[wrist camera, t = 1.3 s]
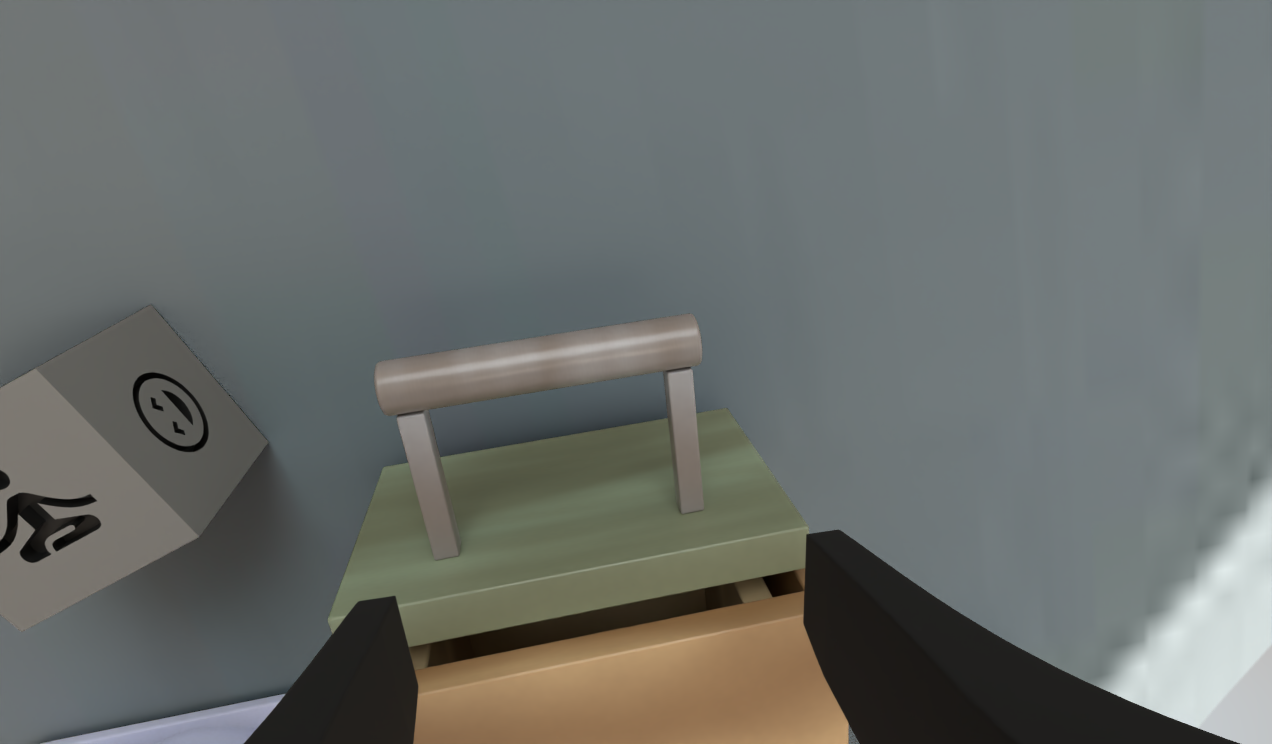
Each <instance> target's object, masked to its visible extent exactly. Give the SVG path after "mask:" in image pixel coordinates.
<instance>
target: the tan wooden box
mask: <svg viewBox="0 0 1272 744" xmlns="http://www.w3.org/2000/svg"><path fill="white" fill-rule="evenodd" d="M762 578H763V580H764V582H765V584H766V586H767V587H768V589H769V591H770V593H771V595H772V598H767V599H762V600H757V601H752V602H747V603H742V604H738V605H733V606H728V607H723V608H718V609H713V610H708V611H703V612H698V613H693V614H688V615H683V616H678V617H674V618H669V619H664V620H659V621H654V622H649V623H644V624H639V625H634V626H629V627H624V628H619V629H615V630H610V631H605V632H600V633H595V634H590V635H585V636H580V637H575V638H570V639H565V640H560V641H555V642H551V643H546V644H541V645H536V646H531V647H526V648H521V649H516V650H511V651H506V652H501V653H496V654H492V655H487V656H482V657H477V658H472V659H467V660H462V661H457V662H452V663H447V664H442V665H437V666H432V667H428V668H423V669H418V670H415V674H416V678H417V682H418V686H419V687H418V699H417V711H416V722H415V732H414V742H413V744H848V721H847V719H846V717H845V715H844V714H843V712H842V710H841V708H840V706H839V704H838V702H837V700H836V699H835V697H834V695H833V693H832V691H831V689H830V687H829V685H828V683H827V681H826V680H825V678H824V676H823V673H822V671H821V668H820V666H819V663H818V661H817V658H816V656H815V653H814V651H813V648H812V645H811V643H810V640H809V637H808V635H807V632H806V630H805V627H804V624H803V615H804V587H805V568H804V569H799V570H794V571H789V572H784V573H779V574H774V575H769V576H764V577H762Z"/></svg>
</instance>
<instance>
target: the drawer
mask: <svg viewBox="0 0 1272 744" xmlns="http://www.w3.org/2000/svg"><path fill="white" fill-rule="evenodd" d="M701 360H702V341H701V335H700V330H699V326H698V323H697V321H696V319H695V317H694V315H693V314H690V313H688V314H681V315H675V316H669V317H662V318H656V319H649V320H643V321H636V322H630V323H623V324H617V325H611V326H604V327H598V328H591V329H585V330H578V331H572V332H566V333H559V334H553V335H546V336H540V337H533V338H527V339H521V340H514V341H508V342H501V343H495V344H488V345H482V346H475V347H469V348H463V349H456V350H450V351H443V352H437V353H430V354H424V355H418V356H411V357H405V358H398V359H392V360H385V361H380V362H378V363H377V364H376V366H375V372H374V384H375V391H376V396H377V399H378V403H379V405H380V407H381V409H382V411H383V413H384V414H385V415H388V416H393V415H398V416H397V423H398V427H399V430H400V434H401V438H402V442H403V445H404V449H405V453H406V456H407V460H408V463H403V464H398V465H392V466H386V467H383V469H382V472H381V475H380V477H379V480H378V483H377V486H376V488H375V491H374V494H373V497H372V499H371V502H370V505H369V508H368V510H367V513H366V516H365V519H364V521H363V524H362V527H361V529H360V532H359V535H358V538H357V540H356V543H355V546H354V549H353V551H352V554H351V557H350V560H349V562H348V565H347V568H346V571H345V573H344V576H343V579H342V582H341V584H340V587H339V590H338V592H337V595H336V598H335V601H334V603H333V606H332V609H331V612H330V614H329V617H328V623H329V626H330V629H331V631H332V634H333V633H334V631H335V630H336V629H337V627H338V626H339V625H340V624H341V622H342V621H343V620H344V618H345V617H346V616H347V614H348V613H349V612H350V611H351V609H352V608H353V607H354V606H355V604H356V603H357V602H358V601H363V600H369V599H376V598H383V597H389V596H396V600H397V604H398V608H399V612H400V616H401V619H402V623H403V627H404V631H405V635H406V639H407V643H408V647H409V651H410V655H411V658H412V662H413V666H414V670H418V669H423V668H428V667H432V666H437V665H442V664H447V663H452V662H457V661H462V660H467V659H472V658H477V657H482V656H487V655H492V654H496V653H501V652H506V651H511V650H516V649H521V648H526V647H531V646H536V645H541V644H546V643H551V642H555V641H560V640H565V639H570V638H575V637H580V636H585V635H590V634H595V633H600V632H605V631H610V630H615V629H619V628H624V627H629V626H634V625H639V624H644V623H649V622H654V621H659V620H664V619H669V618H674V617H678V616H683V615H688V614H693V613H698V612H703V611H708V610H713V609H718V608H723V607H728V606H733V605H738V604H742V603H747V602H752V601H757V600H762V599H767V598H772V595H771V593H770V591H769V589H768V587H767V586H766V584H765V582H764V580H763V578H762V577H764V576H769V575H774V574H779V573H784V572H789V571H794V570H799V569H804V568H805V559H806V534H809V527H808V525H807V524H806V522H805V521H804V519H803V518H802V517H801V515H800V514H799V512H798V511H797V509H796V508H795V506H794V505H793V503H792V502H791V501H790V499H789V498H788V496H787V495H786V493H785V492H784V490H783V489H782V487H781V486H780V484H779V483H778V482H777V480H776V479H775V477H774V476H773V474H772V473H771V471H770V470H769V468H768V467H767V466H766V464H765V463H764V461H763V460H762V458H761V457H760V455H759V454H758V452H757V451H756V449H755V448H754V447H753V445H752V444H751V442H750V441H749V439H748V438H747V436H746V435H745V433H744V432H743V430H742V429H741V428H740V426H739V425H738V423H737V422H736V420H735V419H734V417H733V416H732V414H731V413H730V412H729V410H728V409H727V408H724V409H718V410H713V411H707V412H701V413H696V405H695V393H694V381H693V371H692V369H691V367H692V366H697V365H699V364H700V363H701ZM661 371H663V376H664V385H665V395H666V405H667V415H668V418H666V419H660V420H654V421H648V422H643V423H637V424H631V425H625V426H619V427H613V428H608V429H602V430H596V431H590V432H584V433H578V434H573V435H567V436H561V437H555V438H549V439H543V440H538V441H532V442H526V443H520V444H514V445H508V446H503V447H497V448H491V449H485V450H479V451H473V452H468V453H462V454H456V455H450V456H444V457H440V454H439V450H438V446H437V442H436V438H435V434H434V430H433V426H432V422H431V418H430V414H429V409H435V408H442V407H448V406H454V405H460V404H466V403H472V402H478V401H484V400H490V399H496V398H503V397H509V396H515V395H521V394H527V393H533V392H539V391H545V390H551V389H557V388H564V387H570V386H576V385H582V384H588V383H594V382H600V381H606V380H612V379H619V378H625V377H631V376H637V375H643V374H649V373H655V372H661Z"/></svg>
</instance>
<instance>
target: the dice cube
mask: <svg viewBox="0 0 1272 744" xmlns="http://www.w3.org/2000/svg"><path fill="white" fill-rule="evenodd" d="M267 443H268V441H267V440H266V439H265V437H264V436H263V435H262V434H261V433H260V432H259V430H258V429H257V428H256V427H255V426H254V425H253V423H252V422H251V421H250V420H249V419H248V418H247V416H246V415H245V414H244V413H243V412H242V410H241V409H240V408H239V407H238V406H237V405H236V403H235V402H234V401H233V400H232V399H231V398H230V396H229V395H228V394H227V393H226V392H225V391H224V389H223V388H222V387H221V386H220V385H219V384H218V382H217V381H216V380H215V379H214V378H213V376H212V375H211V374H210V373H209V372H208V371H207V369H206V368H205V367H204V366H203V365H202V364H201V362H200V361H199V360H198V359H197V358H196V357H195V355H194V354H193V353H192V352H191V351H190V350H189V348H188V347H187V346H186V345H185V344H184V342H183V341H182V340H181V339H180V338H179V337H178V335H177V334H176V333H175V332H174V331H173V330H172V328H171V327H170V326H169V325H168V324H167V323H166V321H165V320H164V319H163V318H162V317H161V316H160V314H159V313H158V312H157V311H156V310H155V308H154V307H153V306H152V305H149V306H147V307H146V308H144V309H142V310H140V311H138V312H137V313H135V314H133V315H131V316H129V317H127V318H126V319H124V320H122V321H120V322H118V323H117V324H115V325H113V326H111V327H109V328H107V329H106V330H104V331H102V332H100V333H98V334H97V335H95V336H93V337H91V338H89V339H87V340H86V341H84V342H82V343H80V344H78V345H77V346H75V347H73V348H71V349H69V350H67V351H66V352H64V353H62V354H60V355H58V356H57V357H55V358H53V359H51V360H49V361H47V362H46V363H44V364H42V365H40V366H38V367H37V368H35V369H33V370H31V371H29V372H27V373H26V374H24V375H22V376H20V377H18V378H17V379H15V380H13V381H11V382H9V383H7V384H6V385H4V386H2V387H0V615H2V616H3V617H4V618H5V619H6V620H8V621H9V622H10V623H11V624H12V625H14V626H15V627H16V628H17V629H18V630H20V631H21V632H23V631H25V630H27V629H28V628H30V627H32V626H34V625H36V624H38V623H40V622H41V621H43V620H45V619H47V618H49V617H51V616H53V615H54V614H56V613H58V612H60V611H62V610H64V609H66V608H68V607H69V606H71V605H73V604H75V603H77V602H79V601H81V600H82V599H84V598H86V597H88V596H90V595H92V594H94V593H96V592H97V591H99V590H101V589H103V588H105V587H107V586H109V585H110V584H112V583H114V582H116V581H118V580H120V579H122V578H124V577H125V576H127V575H129V574H131V573H133V572H135V571H137V570H138V569H140V568H142V567H144V566H146V565H148V564H150V563H151V562H153V561H155V560H157V559H159V558H161V557H163V556H165V555H166V554H168V553H170V552H172V551H174V550H176V549H178V548H179V547H181V546H183V545H185V544H187V543H189V542H191V541H193V540H194V539H196V538H198V537H200V535H201V534H202V533H203V531H204V530H205V528H206V527H207V526H208V524H209V523H210V522H211V520H212V519H213V517H214V516H215V515H216V513H217V512H218V511H219V509H220V508H221V507H222V505H223V504H224V502H225V501H226V500H227V498H228V497H229V496H230V494H231V493H232V491H233V490H234V489H235V487H236V486H237V485H238V483H239V482H240V480H241V479H242V478H243V476H244V475H245V474H246V472H247V471H248V469H249V468H250V467H251V465H252V464H253V463H254V461H255V460H256V459H257V457H258V456H259V454H260V453H261V452H262V450H263V449H264V448H265V446H266V445H267Z"/></svg>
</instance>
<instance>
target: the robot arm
mask: <svg viewBox="0 0 1272 744" xmlns="http://www.w3.org/2000/svg"><path fill="white" fill-rule="evenodd" d="M803 624H804V627H805V630H806V632H807V635H808V637H809V640H810V643H811V645H812V648H813V651H814V653H815V656H816V658H817V661H818V663H819V666H820V668H821V671H822V673H823V676H824V678H825V680H826V681H827V683H828V685H829V687H830V689H831V691H832V693H833V695H834V697H835V699H836V700H837V702H838V704H839V706H840V708H841V710H842V712H843V714H844V715H845V717H846V719H847V721H848V723H849V725H850V727H851V728H852V730H853V732H854V734H855V736H856V738H857V740H858V741H859V743H860V744H1240V743H1237V742H1233V741H1231V740H1228V739H1225V738H1222V737H1220V736H1217V735H1214V734H1212V733H1209V732H1206V731H1203V730H1201V729H1198V728H1196V727H1193V726H1190V725H1188V724H1185V723H1182V722H1180V721H1177V720H1174V719H1172V718H1169V717H1167V716H1164V715H1162V714H1159V713H1157V712H1154V711H1152V710H1149V709H1147V708H1144V707H1142V706H1139V705H1137V704H1135V703H1132V702H1130V701H1128V700H1125V699H1123V698H1121V697H1119V696H1117V695H1114V694H1112V693H1110V692H1108V691H1105V690H1103V689H1101V688H1099V687H1096V686H1094V685H1092V684H1090V683H1087V682H1085V681H1083V680H1081V679H1079V678H1077V677H1075V676H1073V675H1071V674H1069V673H1066V672H1064V671H1062V670H1060V669H1058V668H1056V667H1054V666H1052V665H1051V664H1049V663H1047V662H1045V661H1043V660H1041V659H1039V658H1037V657H1035V656H1033V655H1032V654H1030V653H1028V652H1026V651H1024V650H1022V649H1020V648H1018V647H1016V646H1014V645H1013V644H1011V643H1009V642H1007V641H1006V640H1004V639H1002V638H1000V637H999V636H997V635H995V634H993V633H992V632H990V631H988V630H987V629H985V628H983V627H982V626H980V625H979V624H977V623H975V622H974V621H972V620H970V619H969V618H967V617H965V616H964V615H962V614H960V613H959V612H957V611H956V610H954V609H953V608H951V607H950V606H948V605H946V604H945V603H943V602H942V601H940V600H939V599H937V598H936V597H934V596H933V595H931V594H930V593H928V592H927V591H925V590H924V589H922V588H921V587H919V586H918V585H917V584H915V583H914V582H912V581H911V580H909V579H908V578H906V577H905V576H904V575H902V574H901V573H899V572H898V571H896V570H895V569H894V568H892V567H891V566H889V565H888V564H887V563H885V562H884V561H883V560H881V559H880V558H878V557H877V556H876V555H874V554H873V553H871V552H870V551H869V550H867V549H866V548H864V547H863V546H862V545H860V544H859V543H858V542H856V541H855V540H853V539H852V538H850V537H849V536H848V535H846V534H845V533H843V532H842V531H840V530H833V531H826V532H819V533H813V534H806V559H805V587H804V615H803ZM418 687H419V686H418V682H417V678H416V674H415V670H414V666H413V662H412V658H411V655H410V651H409V647H408V643H407V639H406V635H405V631H404V627H403V623H402V619H401V616H400V612H399V608H398V604H397V600H396V596H389V597H383V598H376V599H369V600H363V601H358V602H357V603H356V604H355V606H354V607H353V608H352V609H351V611H350V612H349V613H348V614H347V616H346V617H345V618H344V620H343V621H342V622H341V624H340V625H339V626H338V627H337V629H336V630H335V631H334V633H333V634H332V635H331V637H330V638H329V639H328V641H327V642H326V643H325V645H324V646H323V647H322V649H321V650H320V651H319V652H318V654H317V655H316V656H315V658H314V659H313V660H312V662H311V663H310V664H309V665H308V667H307V668H306V669H305V671H304V672H303V673H302V674H301V676H300V677H299V678H298V679H297V681H296V682H295V683H294V684H293V686H292V687H291V688H290V689H289V691H288V692H287V693H286V694H281V695H276V696H271V697H266V698H261V699H256V700H251V701H247V702H242V703H237V704H232V705H227V706H222V707H217V708H212V709H207V710H202V711H197V712H192V713H187V714H182V715H178V716H173V717H168V718H163V719H158V720H153V721H148V722H143V723H138V724H133V725H128V726H123V727H118V728H113V729H109V730H104V731H99V732H94V733H89V734H84V735H79V736H74V737H69V738H64V739H59V740H54V741H49V742H44V743H40V744H413V742H414V732H415V722H416V711H417V699H418Z"/></svg>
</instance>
